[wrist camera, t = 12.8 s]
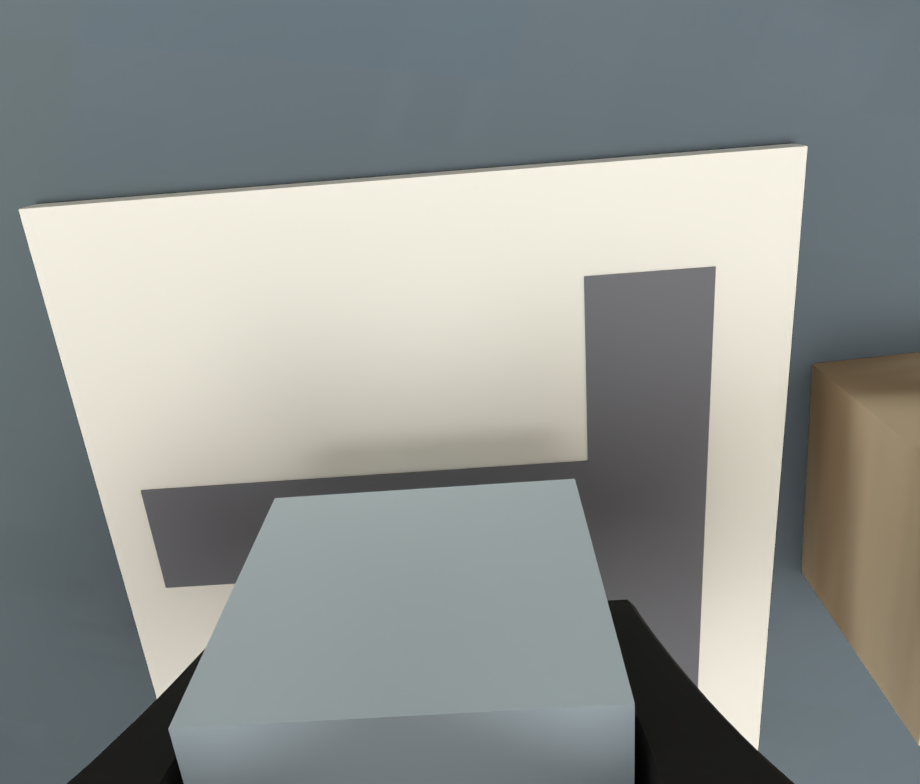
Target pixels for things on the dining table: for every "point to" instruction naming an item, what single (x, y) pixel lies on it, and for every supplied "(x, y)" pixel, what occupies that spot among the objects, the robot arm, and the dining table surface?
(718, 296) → the letter card
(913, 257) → the dining table surface
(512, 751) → the pale blue cube
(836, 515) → the oak block
